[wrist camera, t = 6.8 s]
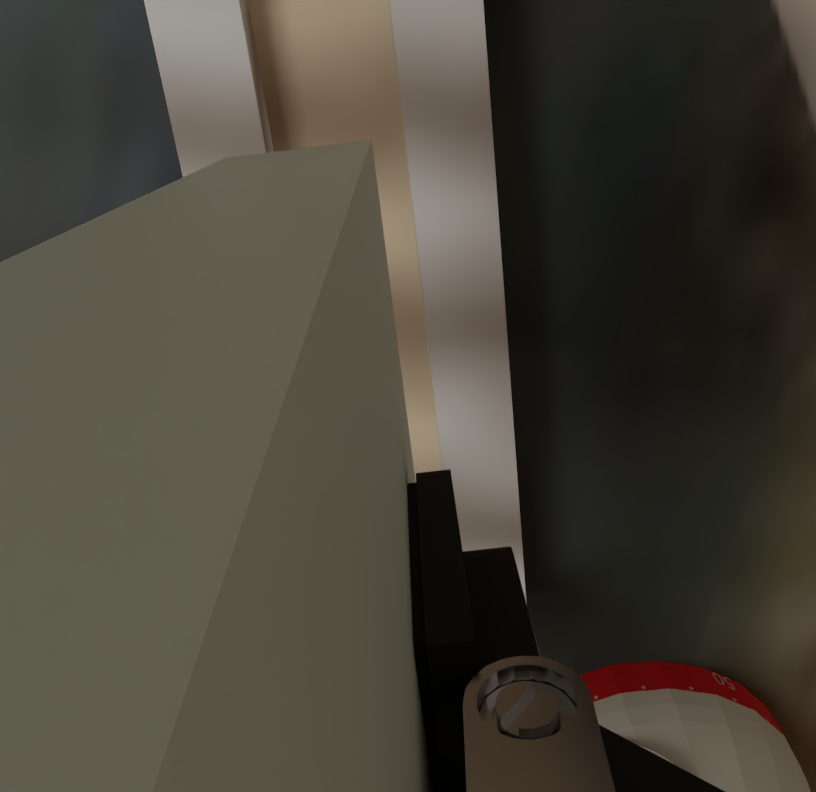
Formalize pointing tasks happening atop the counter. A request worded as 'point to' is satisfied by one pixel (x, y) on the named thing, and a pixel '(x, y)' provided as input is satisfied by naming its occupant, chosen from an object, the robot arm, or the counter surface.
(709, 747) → the kitchen timer
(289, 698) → the door panel
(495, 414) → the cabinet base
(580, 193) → the counter surface
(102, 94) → the counter surface
